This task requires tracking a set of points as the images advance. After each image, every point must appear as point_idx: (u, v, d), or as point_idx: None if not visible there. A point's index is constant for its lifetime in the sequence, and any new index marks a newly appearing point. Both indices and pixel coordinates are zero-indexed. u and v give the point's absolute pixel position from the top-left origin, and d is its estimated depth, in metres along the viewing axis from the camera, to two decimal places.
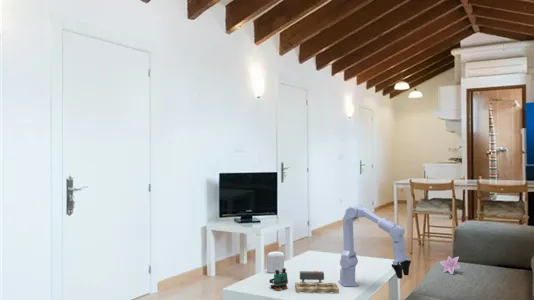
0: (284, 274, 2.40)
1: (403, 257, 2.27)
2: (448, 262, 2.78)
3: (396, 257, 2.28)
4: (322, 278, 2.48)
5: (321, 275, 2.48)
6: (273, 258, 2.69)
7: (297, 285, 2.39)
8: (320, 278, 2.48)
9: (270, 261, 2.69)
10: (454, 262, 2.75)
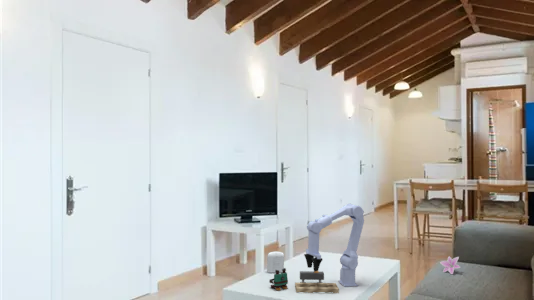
0: (284, 274, 2.40)
1: (308, 250, 2.43)
2: (448, 262, 2.78)
3: None
4: (322, 278, 2.48)
5: (321, 275, 2.48)
6: (273, 258, 2.69)
7: (297, 285, 2.39)
8: (320, 278, 2.48)
9: (270, 261, 2.69)
10: (454, 262, 2.75)
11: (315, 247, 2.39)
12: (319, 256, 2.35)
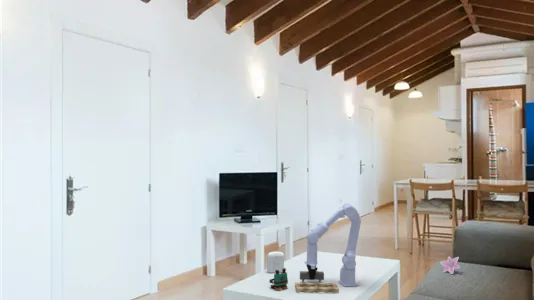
0: (284, 274, 2.40)
1: None
2: (448, 262, 2.78)
3: None
4: (322, 278, 2.48)
5: (321, 275, 2.48)
6: (273, 258, 2.69)
7: (297, 285, 2.39)
8: (320, 278, 2.48)
9: (270, 261, 2.69)
10: (454, 262, 2.75)
11: (312, 257, 2.47)
12: (313, 266, 2.42)
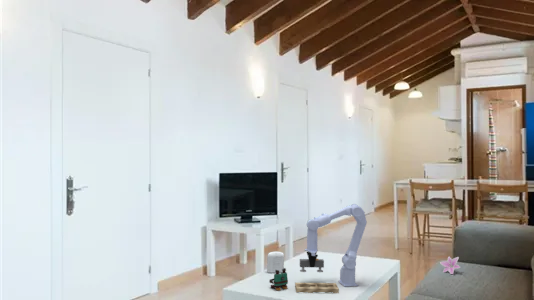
0: (284, 274, 2.40)
1: None
2: (448, 262, 2.78)
3: None
4: (322, 266, 2.48)
5: (321, 262, 2.48)
6: (273, 258, 2.69)
7: (297, 285, 2.39)
8: (320, 266, 2.48)
9: (270, 261, 2.69)
10: (454, 262, 2.75)
11: (312, 244, 2.46)
12: (313, 253, 2.42)
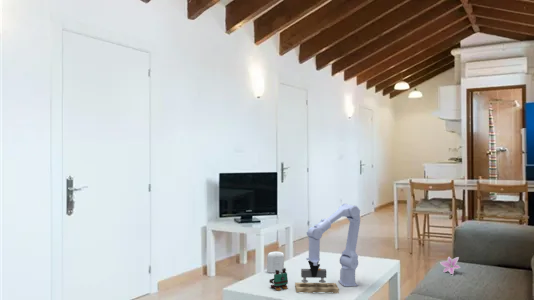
0: (284, 274, 2.40)
1: None
2: (448, 262, 2.77)
3: None
4: (324, 276, 2.37)
5: (323, 272, 2.37)
6: (273, 258, 2.69)
7: (297, 285, 2.39)
8: (322, 276, 2.37)
9: (270, 261, 2.69)
10: (454, 262, 2.75)
11: (314, 253, 2.36)
12: (315, 263, 2.32)
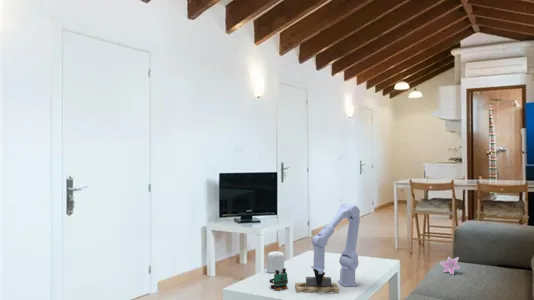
0: (284, 274, 2.40)
1: None
2: (448, 262, 2.77)
3: None
4: (329, 284, 2.37)
5: (328, 281, 2.37)
6: (273, 258, 2.69)
7: (297, 285, 2.39)
8: (327, 284, 2.37)
9: (270, 261, 2.69)
10: (454, 262, 2.74)
11: (319, 262, 2.36)
12: (320, 271, 2.32)
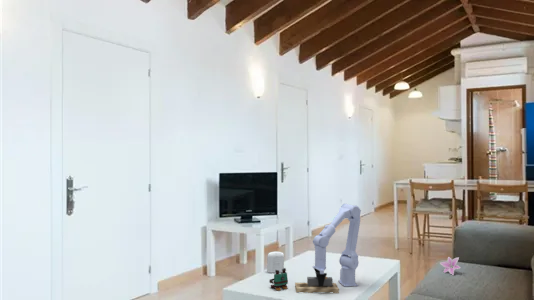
0: (284, 274, 2.40)
1: None
2: (448, 262, 2.77)
3: None
4: (331, 284, 2.37)
5: (330, 281, 2.37)
6: (273, 258, 2.69)
7: (297, 285, 2.39)
8: (329, 284, 2.37)
9: (270, 261, 2.69)
10: (454, 262, 2.74)
11: (320, 262, 2.36)
12: (322, 271, 2.32)
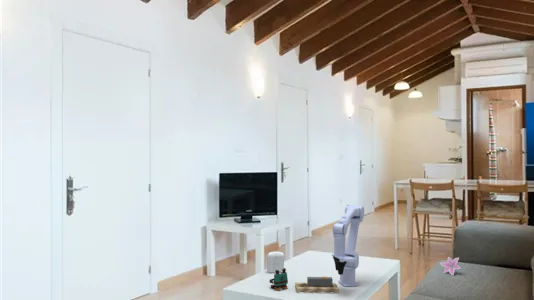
0: (284, 274, 2.40)
1: None
2: (448, 262, 2.76)
3: None
4: (331, 284, 2.37)
5: (330, 281, 2.37)
6: (273, 258, 2.69)
7: (297, 285, 2.39)
8: (329, 284, 2.37)
9: (270, 261, 2.69)
10: (454, 262, 2.73)
11: (340, 250, 2.33)
12: (341, 259, 2.28)
